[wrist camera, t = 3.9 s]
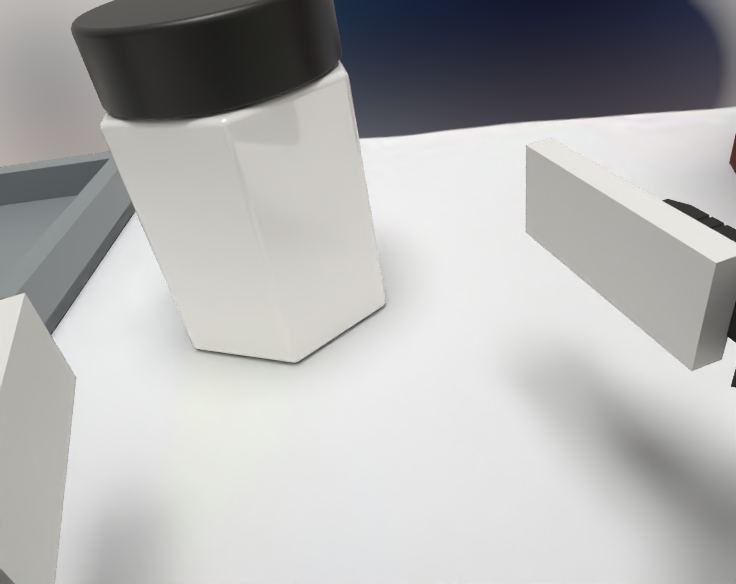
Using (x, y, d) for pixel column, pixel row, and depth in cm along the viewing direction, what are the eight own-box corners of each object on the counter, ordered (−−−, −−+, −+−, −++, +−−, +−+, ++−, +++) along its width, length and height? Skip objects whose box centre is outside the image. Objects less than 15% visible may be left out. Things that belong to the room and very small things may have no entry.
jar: (314, 224, 31) (253, -40, 24) (428, 282, 25) (392, -39, 18) (154, 310, 27) (21, 22, 20) (248, 401, 21) (111, 47, 14)
